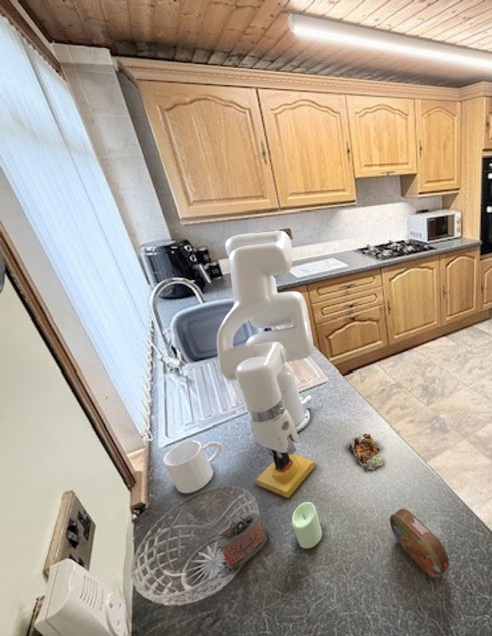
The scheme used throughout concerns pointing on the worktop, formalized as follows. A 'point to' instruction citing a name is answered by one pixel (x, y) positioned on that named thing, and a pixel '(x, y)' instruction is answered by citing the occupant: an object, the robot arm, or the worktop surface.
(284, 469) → the red push button
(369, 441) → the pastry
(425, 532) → the tin
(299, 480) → the button box
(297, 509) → the candle
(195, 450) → the mug
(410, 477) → the worktop surface
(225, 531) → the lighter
